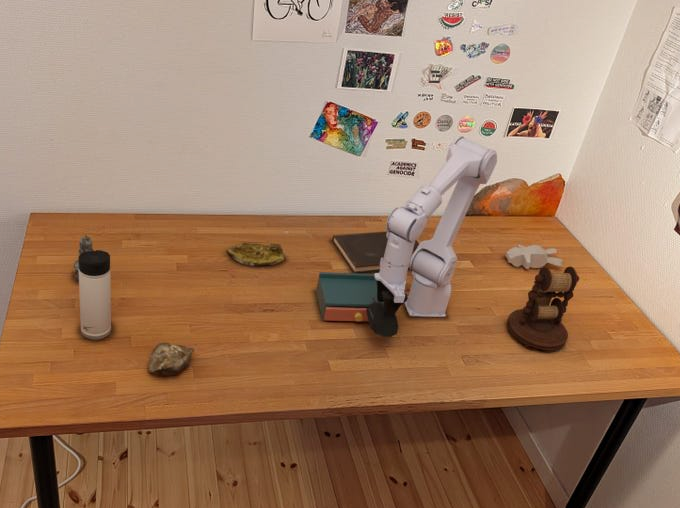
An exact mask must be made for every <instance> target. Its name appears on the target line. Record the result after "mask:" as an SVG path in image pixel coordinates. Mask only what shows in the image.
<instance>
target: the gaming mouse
mask: <svg viewBox="0 0 680 508" xmlns="http://www.w3.org/2000/svg"><path fill="white" fill-rule="evenodd" d="M372 299H373V301H374V303H372V304H369V305H368V307H367V310H366V312H367V317H368V320H369V321H368V325H369V327H370V330H371V331H372V332H373V334H375V335H378V336H380V337H382V338H393V337H394V336H396V335H398V331H399V327H400V326H399V325H400V324H399V322H398V317H397V315H396V314H395V315H394V317H384V316H383V307H384V304H383V303H382V302H377V303H376V301H375V299H374V297H372Z"/></svg>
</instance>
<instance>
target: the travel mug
mask: <svg viewBox="0 0 680 508" xmlns="http://www.w3.org/2000/svg"><path fill="white" fill-rule="evenodd" d="M77 260H79V282H78V290H79V293H78V295H79V311H80V312H79V319H80V333H81V335H82V337H84V338H85V339H88V340H91V341H99V340H102V339H105V338H106V337H108V336H109V335H110V334H111V332H112V300H111V299H112V287H111V285H112V283H111V280H112V279H111V273H112V272H111V255H110V253H109V252H107V251H106V250H100V249H95V250H94V251H89V252H87V251H86V252H83V253H81V254H80V255H79V254H78V259H77Z"/></svg>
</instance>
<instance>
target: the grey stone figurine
mask: <svg viewBox="0 0 680 508" xmlns="http://www.w3.org/2000/svg"><path fill="white" fill-rule="evenodd" d="M78 242H79V249H78V251H77V253H78V256H79V255H80V254H81V253H83V252H86V251H87V252H89V251H95V250H94V248H93V240H92V238H91V237H89V236H88V235H87V234H85V235H84V236H83V237H81V238H80V239H79V241H78ZM72 267H73V269H74V270H75V273H76V274H75V276H74V279H75V281H76V282H77V283H79V260H78V259H77V260H75V261H74V263H73V266H72Z"/></svg>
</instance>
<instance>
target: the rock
mask: <svg viewBox="0 0 680 508" xmlns="http://www.w3.org/2000/svg"><path fill="white" fill-rule="evenodd" d="M194 351H195V348H194V347H190V346H187V345H181V344H171V343H170V342H159V343H158V344H156V345H155V347H154V348H153V349H152V351H151V354H150V359H149V362H148V366H147V369H148V371H149V373H152V374H156V375H159V376H172V375H175V374H178V373H180V372H181V371H182V370H184V369H186V368H187V367H188V366H189V364H190V361H191V357H192V354H193V352H194Z"/></svg>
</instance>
